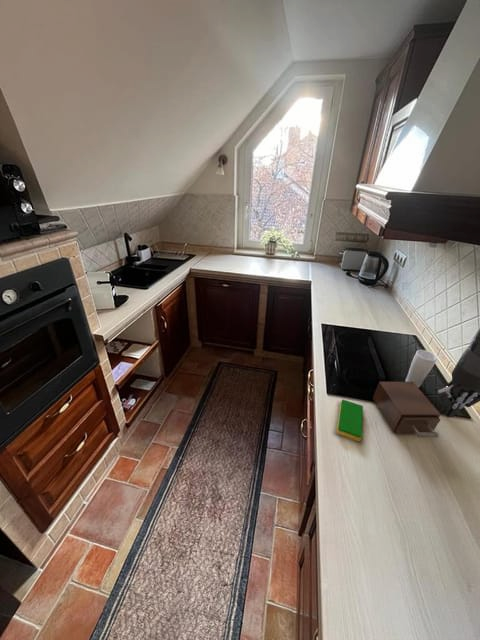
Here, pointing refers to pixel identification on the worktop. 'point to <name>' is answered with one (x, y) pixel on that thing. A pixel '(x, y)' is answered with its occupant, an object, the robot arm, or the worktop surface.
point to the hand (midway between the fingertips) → (447, 414)
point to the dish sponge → (350, 420)
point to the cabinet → (402, 402)
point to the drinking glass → (420, 367)
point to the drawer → (418, 426)
